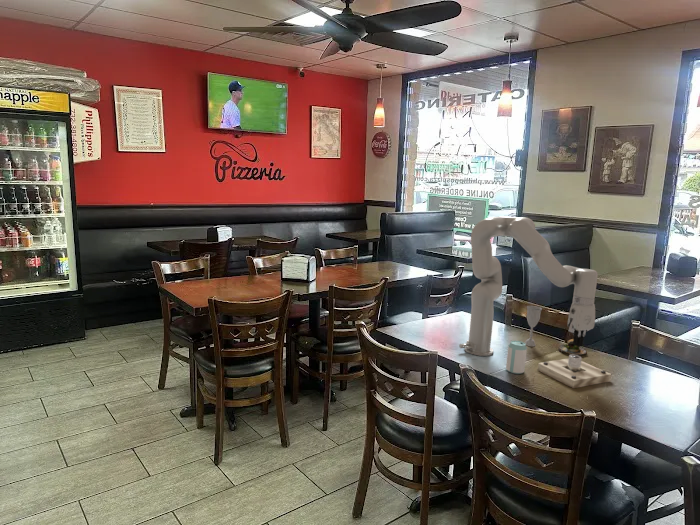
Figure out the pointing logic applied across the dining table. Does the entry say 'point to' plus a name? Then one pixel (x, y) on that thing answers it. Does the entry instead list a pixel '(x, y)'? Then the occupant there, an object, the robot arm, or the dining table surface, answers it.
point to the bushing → (574, 363)
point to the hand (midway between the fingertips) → (577, 345)
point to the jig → (574, 373)
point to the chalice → (532, 321)
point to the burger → (572, 348)
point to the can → (516, 357)
